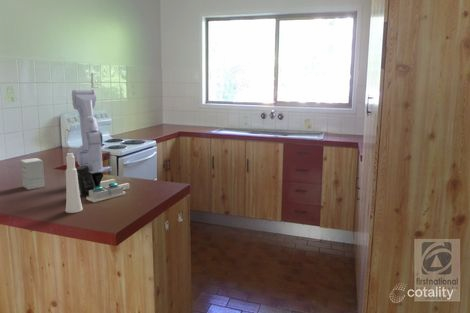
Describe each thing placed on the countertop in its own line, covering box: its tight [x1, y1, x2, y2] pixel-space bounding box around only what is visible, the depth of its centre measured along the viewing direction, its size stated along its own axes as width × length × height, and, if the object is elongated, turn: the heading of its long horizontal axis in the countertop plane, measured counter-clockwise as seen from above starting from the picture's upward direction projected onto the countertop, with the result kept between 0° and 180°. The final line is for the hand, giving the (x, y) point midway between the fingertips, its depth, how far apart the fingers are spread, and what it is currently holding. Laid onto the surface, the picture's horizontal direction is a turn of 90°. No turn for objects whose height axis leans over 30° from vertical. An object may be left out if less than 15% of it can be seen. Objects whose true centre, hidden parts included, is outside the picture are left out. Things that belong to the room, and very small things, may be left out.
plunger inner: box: [109, 182, 119, 189], centre depth 161 cm, size 4×4×4 cm
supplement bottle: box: [75, 165, 96, 197], centre depth 160 cm, size 7×7×12 cm
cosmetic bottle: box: [65, 152, 84, 214], centre depth 140 cm, size 6×6×22 cm
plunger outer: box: [94, 186, 104, 192], centre depth 156 cm, size 4×4×4 cm
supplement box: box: [20, 157, 46, 191], centre depth 171 cm, size 7×7×13 cm
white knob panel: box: [86, 178, 130, 203], centre depth 165 cm, size 18×21×4 cm
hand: (97, 189), depth 165 cm, fingers closed, pressing on supplement bottle
